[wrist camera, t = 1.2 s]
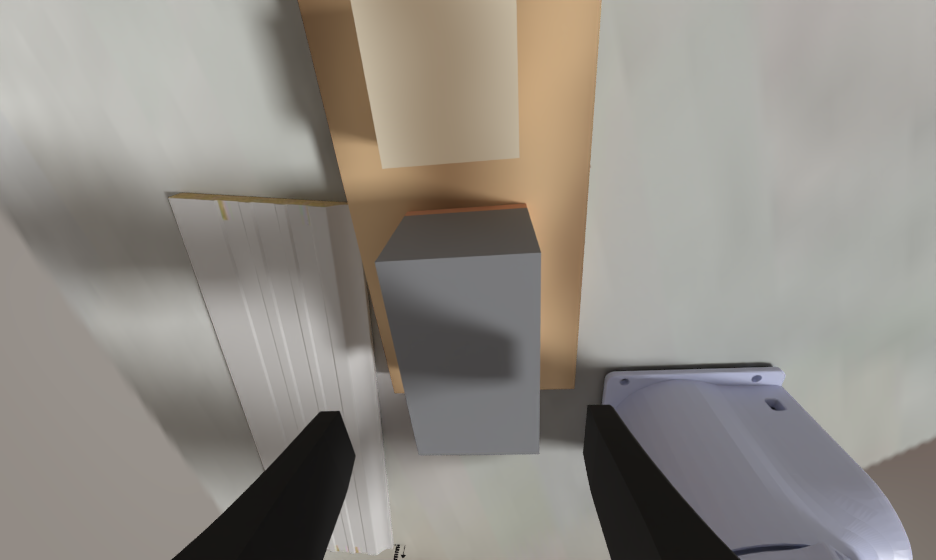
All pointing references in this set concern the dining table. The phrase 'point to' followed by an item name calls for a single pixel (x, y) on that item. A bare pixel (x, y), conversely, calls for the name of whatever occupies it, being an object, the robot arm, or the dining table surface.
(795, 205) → the dining table surface
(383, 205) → the board
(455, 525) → the dining table surface
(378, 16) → the beige cube
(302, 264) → the baseboard
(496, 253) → the block
